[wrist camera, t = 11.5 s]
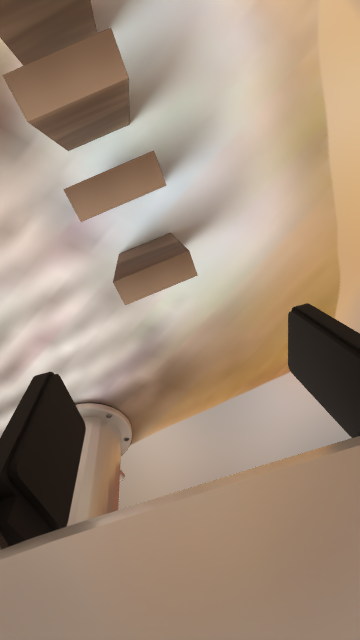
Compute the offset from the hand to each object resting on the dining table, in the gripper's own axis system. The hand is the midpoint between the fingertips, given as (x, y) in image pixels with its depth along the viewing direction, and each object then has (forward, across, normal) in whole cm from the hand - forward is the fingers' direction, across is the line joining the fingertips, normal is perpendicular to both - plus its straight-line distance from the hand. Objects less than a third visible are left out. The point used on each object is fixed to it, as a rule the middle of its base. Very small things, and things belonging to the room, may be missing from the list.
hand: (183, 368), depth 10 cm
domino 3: (+20, +2, -13) cm, 24 cm away
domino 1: (+20, 0, -1) cm, 20 cm away
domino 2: (+20, +1, -7) cm, 21 cm away
